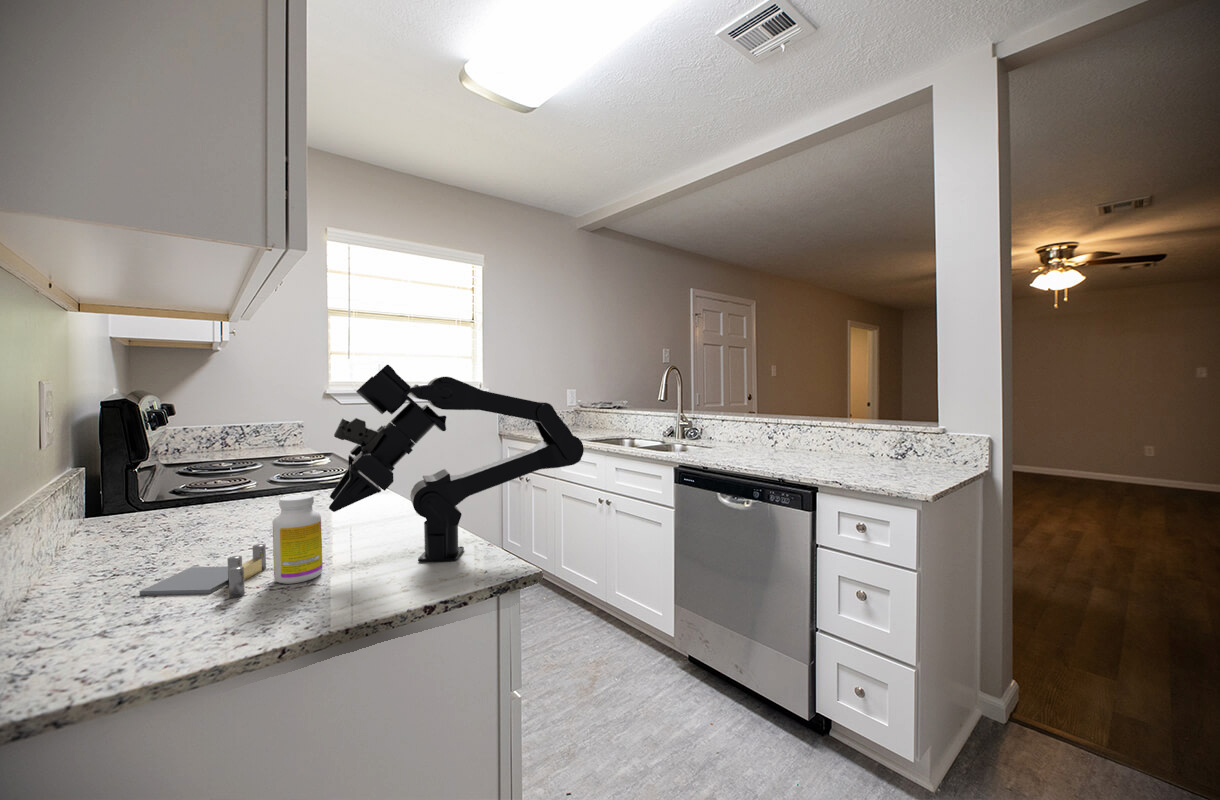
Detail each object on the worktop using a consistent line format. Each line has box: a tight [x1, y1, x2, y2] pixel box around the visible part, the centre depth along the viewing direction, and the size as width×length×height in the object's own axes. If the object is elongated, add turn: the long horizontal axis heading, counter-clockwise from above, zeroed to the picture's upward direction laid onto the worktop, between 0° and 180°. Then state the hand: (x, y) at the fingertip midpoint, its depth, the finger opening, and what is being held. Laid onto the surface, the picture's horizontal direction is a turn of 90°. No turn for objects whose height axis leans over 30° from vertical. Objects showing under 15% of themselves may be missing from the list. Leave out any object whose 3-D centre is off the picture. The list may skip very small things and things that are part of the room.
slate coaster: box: [138, 565, 228, 596], centre depth 82 cm, size 10×10×1 cm
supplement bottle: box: [272, 493, 323, 585], centre depth 83 cm, size 7×7×13 cm
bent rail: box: [227, 543, 267, 599], centre depth 81 cm, size 13×5×4 cm, turn 2°
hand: (331, 504), depth 85 cm, fingers open, 9 cm apart
